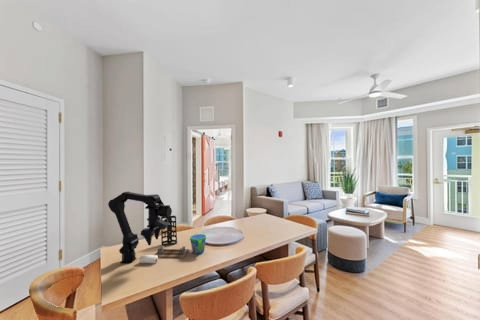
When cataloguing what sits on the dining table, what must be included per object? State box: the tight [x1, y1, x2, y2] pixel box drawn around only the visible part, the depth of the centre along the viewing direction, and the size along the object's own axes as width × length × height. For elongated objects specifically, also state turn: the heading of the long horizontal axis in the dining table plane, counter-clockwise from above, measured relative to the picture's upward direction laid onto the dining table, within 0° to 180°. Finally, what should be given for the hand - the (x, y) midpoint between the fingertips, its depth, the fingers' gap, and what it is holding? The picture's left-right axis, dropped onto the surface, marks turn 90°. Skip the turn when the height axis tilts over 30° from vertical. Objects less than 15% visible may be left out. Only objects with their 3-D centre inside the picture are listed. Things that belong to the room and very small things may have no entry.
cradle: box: [153, 245, 190, 259], centre depth 139 cm, size 20×11×4 cm, turn 86°
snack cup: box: [189, 233, 207, 255], centre depth 141 cm, size 16×10×10 cm
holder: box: [160, 215, 178, 246], centre depth 158 cm, size 11×8×20 cm
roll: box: [139, 254, 159, 264], centre depth 128 cm, size 10×4×4 cm, turn 86°
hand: (153, 242), depth 128 cm, fingers open, 9 cm apart
